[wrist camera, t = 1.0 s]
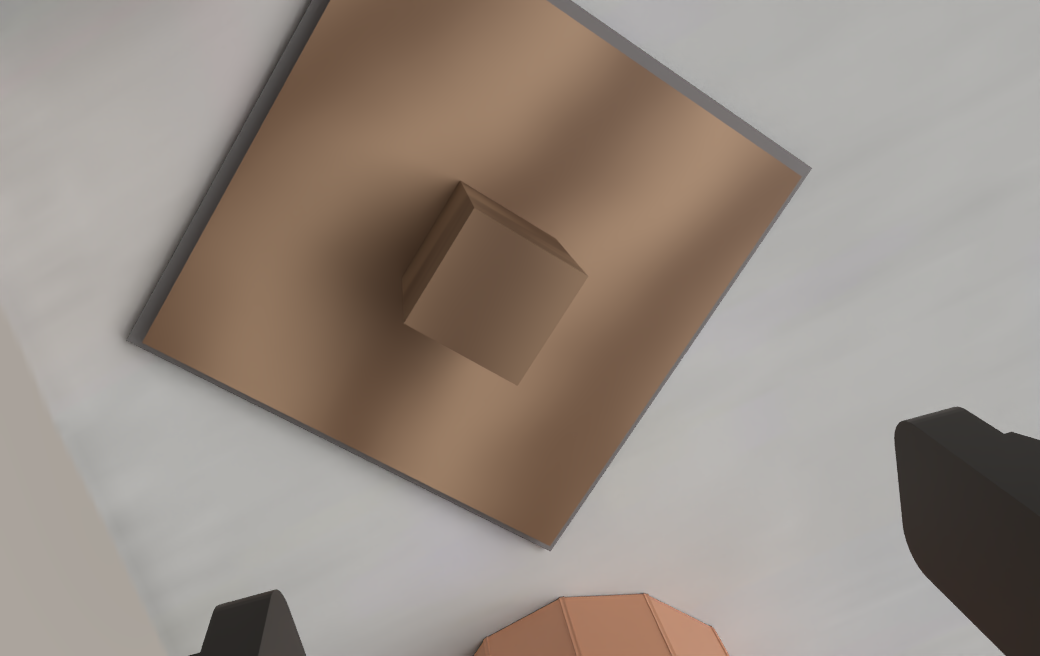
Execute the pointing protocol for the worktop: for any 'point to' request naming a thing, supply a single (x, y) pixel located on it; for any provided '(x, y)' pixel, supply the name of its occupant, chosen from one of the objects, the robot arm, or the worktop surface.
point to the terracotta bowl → (605, 630)
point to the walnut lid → (470, 247)
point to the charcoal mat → (256, 120)
